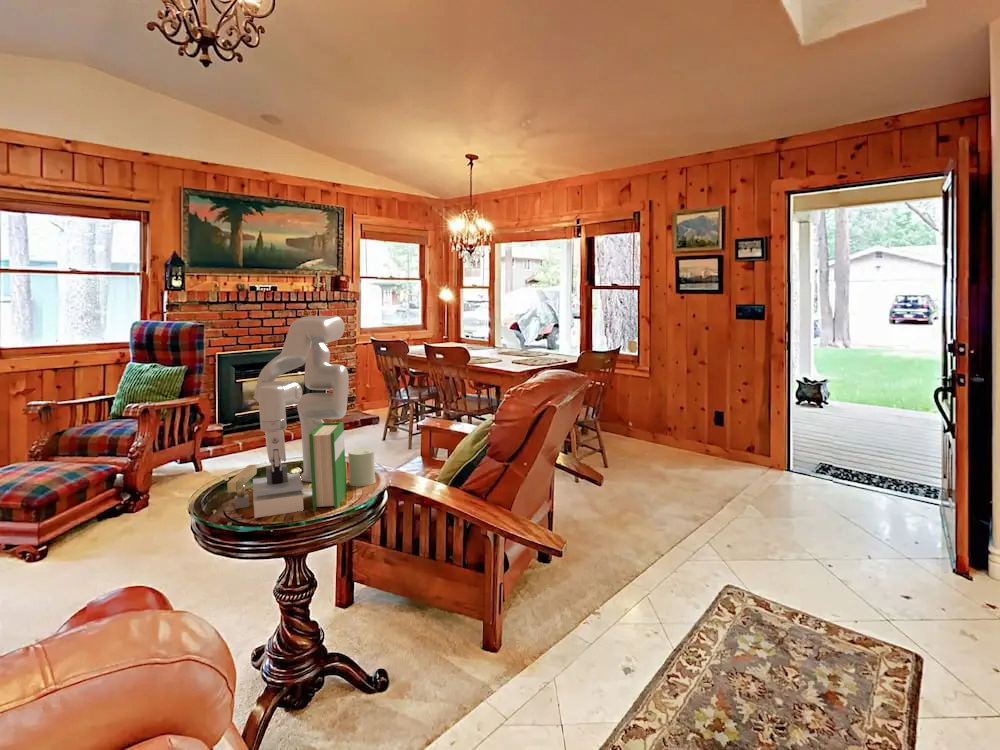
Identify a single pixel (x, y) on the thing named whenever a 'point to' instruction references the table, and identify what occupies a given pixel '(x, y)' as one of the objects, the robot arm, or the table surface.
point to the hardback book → (328, 464)
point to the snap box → (273, 503)
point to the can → (361, 467)
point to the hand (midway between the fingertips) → (277, 481)
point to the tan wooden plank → (241, 480)
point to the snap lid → (266, 487)
